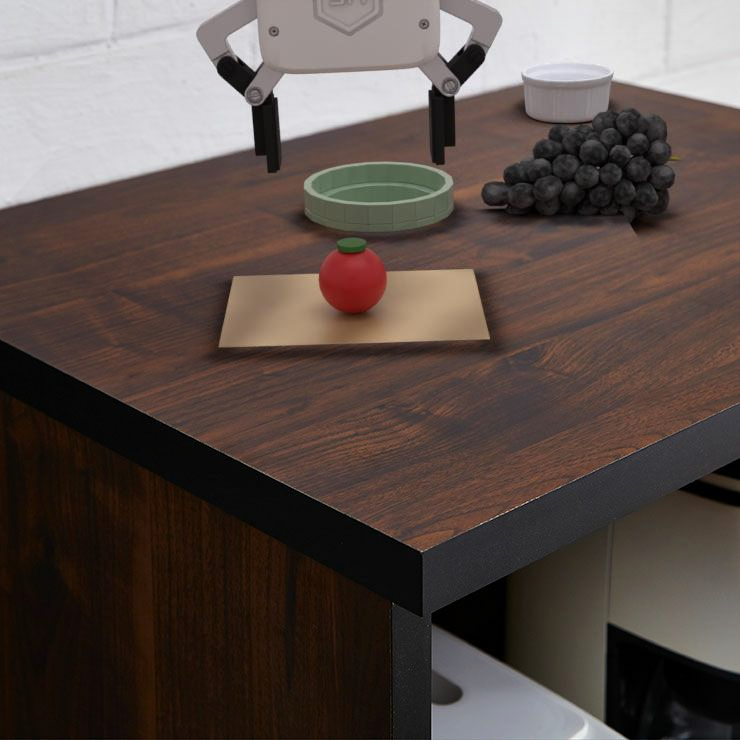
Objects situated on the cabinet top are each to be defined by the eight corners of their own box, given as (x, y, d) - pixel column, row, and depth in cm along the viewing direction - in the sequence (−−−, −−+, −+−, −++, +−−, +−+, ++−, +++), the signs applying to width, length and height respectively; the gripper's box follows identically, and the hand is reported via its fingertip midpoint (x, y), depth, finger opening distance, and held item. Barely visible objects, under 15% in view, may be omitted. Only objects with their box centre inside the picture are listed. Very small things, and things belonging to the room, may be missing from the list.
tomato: (319, 325, 84) (316, 254, 82) (320, 299, 88) (317, 232, 86) (388, 322, 84) (387, 252, 82) (386, 297, 88) (385, 230, 86)
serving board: (219, 370, 82) (217, 346, 81) (234, 296, 93) (233, 275, 92) (490, 361, 82) (490, 338, 81) (473, 289, 93) (473, 268, 92)
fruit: (486, 116, 98) (689, 98, 100) (464, 126, 107) (652, 109, 108) (496, 238, 99) (697, 218, 101) (473, 238, 108) (660, 220, 109)
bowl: (303, 253, 100) (301, 206, 99) (307, 206, 111) (305, 163, 109) (458, 248, 100) (458, 202, 99) (447, 202, 111) (447, 159, 109)
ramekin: (523, 126, 132) (524, 81, 130) (517, 104, 140) (518, 61, 138) (617, 124, 131) (619, 79, 130) (606, 102, 139) (608, 59, 138)
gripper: (173, -132, 71) (204, 188, 78) (507, -149, 71) (509, 173, 78) (188, -142, 78) (215, 153, 85) (493, -157, 78) (496, 140, 85)
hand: (356, 163), depth 82 cm, fingers open, 9 cm apart
